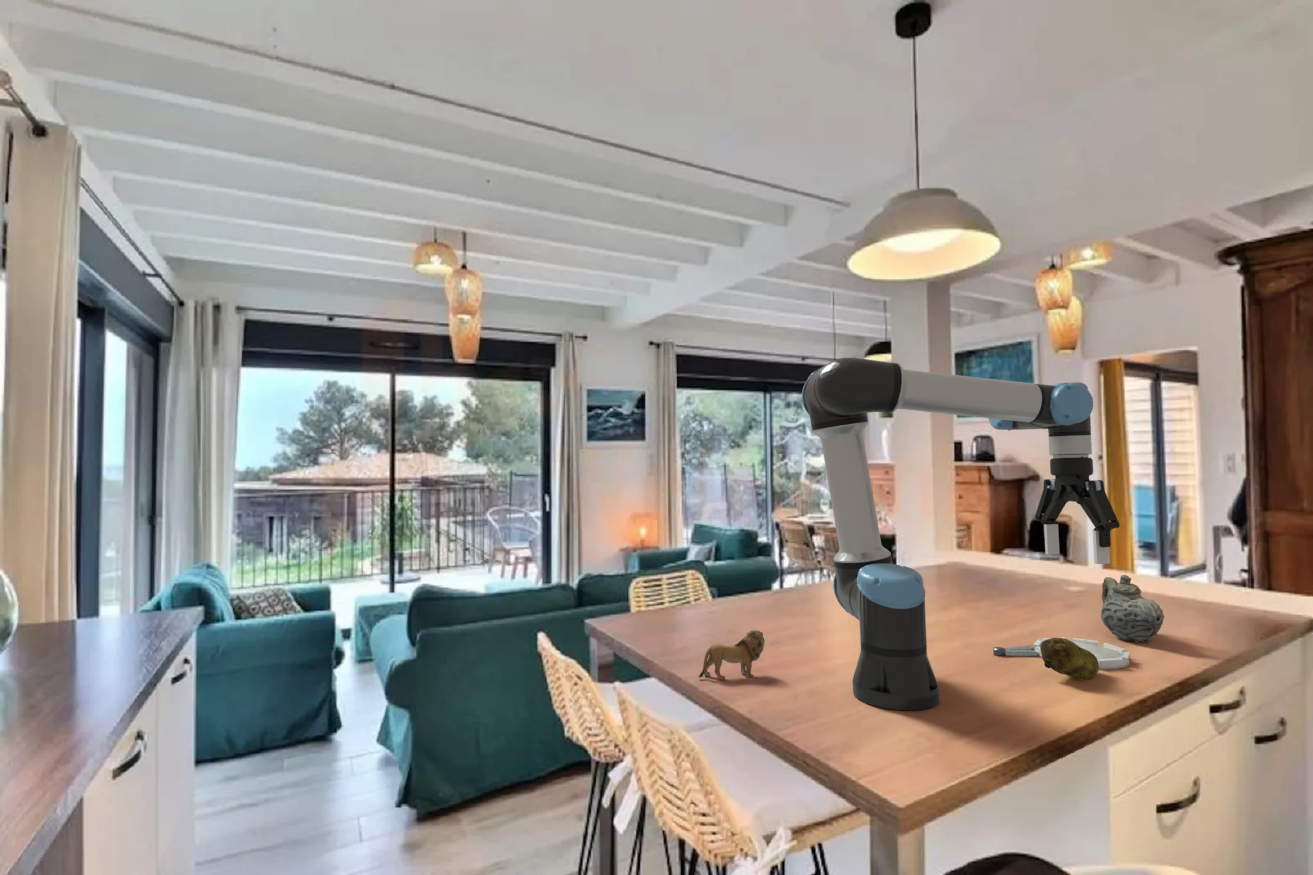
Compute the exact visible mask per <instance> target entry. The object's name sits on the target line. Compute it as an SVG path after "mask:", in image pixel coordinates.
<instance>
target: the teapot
mask: <svg viewBox="0 0 1313 875" xmlns="http://www.w3.org/2000/svg"><path fill="white" fill-rule="evenodd" d="M1131 580H1132V578H1131V577H1130V576H1128V575H1126V574H1122V575H1120V580H1119V582H1118V581H1117V580H1116V579H1115V578H1113V577H1110V576H1108V577H1107V576H1105V578H1104V579H1103V582H1102V583H1101V587H1102V591H1101V601H1102V608H1101V611H1100V618H1101V621H1102V624H1104V626H1105V627H1106V628H1107V629H1108V630H1109V631H1110V633H1112V635H1114V636H1116V637H1118V638H1119V639H1121V640H1122V641H1125V642H1135V643H1136V642H1138V643H1149V642H1151V640H1152V639H1153V638H1154V637H1155V636H1156V635H1157V634H1158V633H1159V631H1160V630H1161V628H1162V625H1163V622H1164V619H1165V614H1164V611H1163V609H1162V608H1161V606H1160V604H1158V603H1157V602H1156V601H1154V600H1153V599H1151V598H1150V599H1149V598H1145V597H1143V596H1142V595H1141V593H1142V590H1141V588H1140V587H1139V586H1138V585H1137V584H1134V583H1131Z"/></svg>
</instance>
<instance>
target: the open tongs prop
mask: <svg viewBox="0 0 1313 875" xmlns="http://www.w3.org/2000/svg"><path fill="white" fill-rule="evenodd" d="M1042 642H1043V641H1042ZM992 651H993V656H996V657H1039V653H1038V652H1037V651H1035V649H1033V644H1028V645H1021V646H1014V647H1013V646H1012V647H1001V646H994V647H992Z"/></svg>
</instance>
